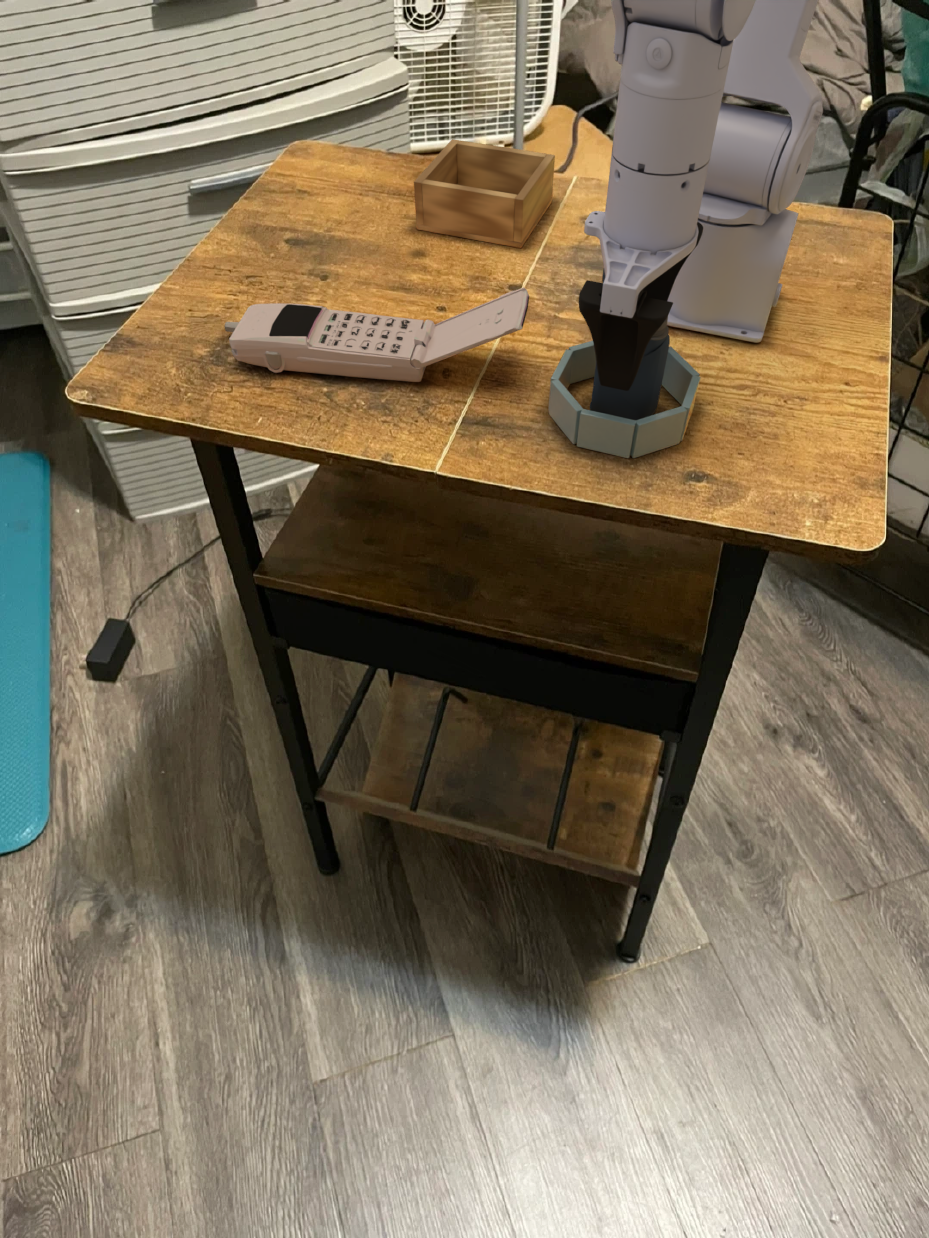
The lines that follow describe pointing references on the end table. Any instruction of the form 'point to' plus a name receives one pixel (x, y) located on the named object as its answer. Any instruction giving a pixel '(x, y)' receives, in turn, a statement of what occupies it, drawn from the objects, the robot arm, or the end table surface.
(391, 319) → the mobile phone
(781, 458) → the end table surface
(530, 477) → the end table surface
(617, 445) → the octagonal ring
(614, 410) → the vaping device
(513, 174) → the holder
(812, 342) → the end table surface
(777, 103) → the robot arm
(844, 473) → the end table surface
